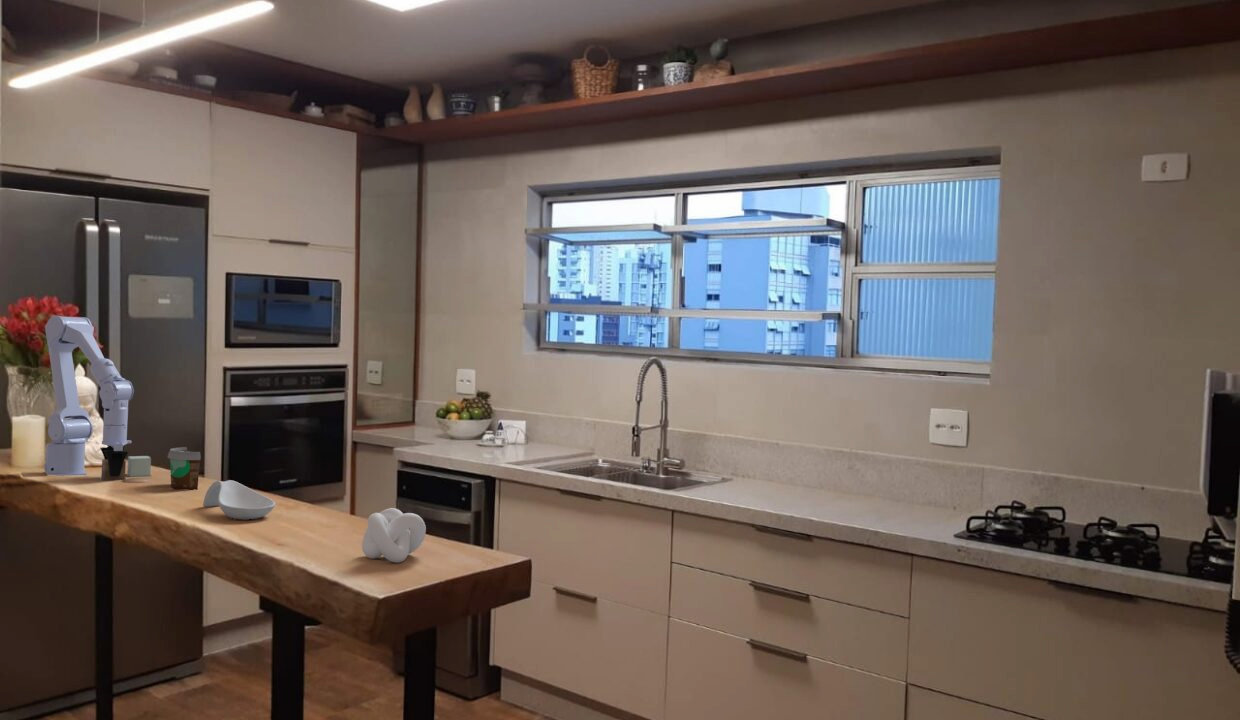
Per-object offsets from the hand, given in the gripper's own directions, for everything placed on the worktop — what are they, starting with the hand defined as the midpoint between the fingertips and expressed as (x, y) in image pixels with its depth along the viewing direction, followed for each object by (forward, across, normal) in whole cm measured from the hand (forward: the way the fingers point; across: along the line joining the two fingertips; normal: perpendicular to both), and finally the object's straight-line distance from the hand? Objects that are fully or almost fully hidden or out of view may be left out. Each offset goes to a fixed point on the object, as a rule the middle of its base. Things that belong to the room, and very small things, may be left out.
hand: (113, 474), depth 246 cm
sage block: (+1, +5, -7) cm, 9 cm away
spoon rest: (+2, -61, -17) cm, 63 cm away
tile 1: (+1, 0, 0) cm, 1 cm away
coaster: (+1, -6, -5) cm, 8 cm away
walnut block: (+1, 0, 0) cm, 1 cm away
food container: (+2, -19, -13) cm, 23 cm away
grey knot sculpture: (+2, -116, -31) cm, 120 cm away
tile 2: (+1, +5, -7) cm, 9 cm away
